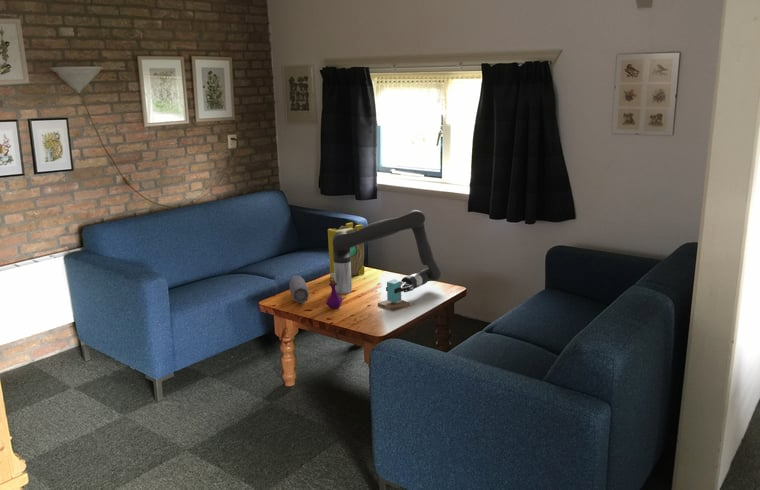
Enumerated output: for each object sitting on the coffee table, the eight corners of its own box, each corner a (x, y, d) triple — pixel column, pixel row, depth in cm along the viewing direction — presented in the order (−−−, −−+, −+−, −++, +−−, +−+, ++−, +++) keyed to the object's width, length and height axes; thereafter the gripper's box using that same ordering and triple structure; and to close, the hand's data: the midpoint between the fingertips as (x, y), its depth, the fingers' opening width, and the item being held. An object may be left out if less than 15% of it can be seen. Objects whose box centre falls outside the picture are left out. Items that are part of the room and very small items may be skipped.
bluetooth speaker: (310, 304, 341) (309, 286, 339) (292, 306, 340) (291, 287, 337) (306, 291, 363) (305, 274, 360) (289, 292, 361) (288, 275, 359)
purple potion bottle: (339, 310, 332) (338, 276, 327) (325, 309, 333) (323, 275, 329) (343, 305, 339) (342, 271, 334) (329, 304, 340) (327, 271, 336)
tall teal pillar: (387, 300, 335) (386, 282, 332) (393, 298, 338) (393, 279, 336) (394, 302, 331) (394, 283, 329) (401, 299, 335) (400, 281, 332)
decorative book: (339, 280, 379) (337, 230, 372) (328, 276, 388) (325, 227, 380) (366, 273, 392) (364, 224, 385) (354, 269, 400) (352, 221, 393)
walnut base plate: (377, 305, 336) (377, 290, 335) (396, 300, 344) (395, 285, 342) (392, 311, 327) (392, 296, 325) (410, 305, 334) (410, 291, 332)
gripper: (401, 272, 347) (379, 280, 335) (422, 277, 338) (401, 286, 326) (401, 286, 349) (380, 294, 337) (422, 291, 340) (401, 300, 328)
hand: (390, 290), depth 331 cm, fingers closed on tall teal pillar, 5 cm apart
